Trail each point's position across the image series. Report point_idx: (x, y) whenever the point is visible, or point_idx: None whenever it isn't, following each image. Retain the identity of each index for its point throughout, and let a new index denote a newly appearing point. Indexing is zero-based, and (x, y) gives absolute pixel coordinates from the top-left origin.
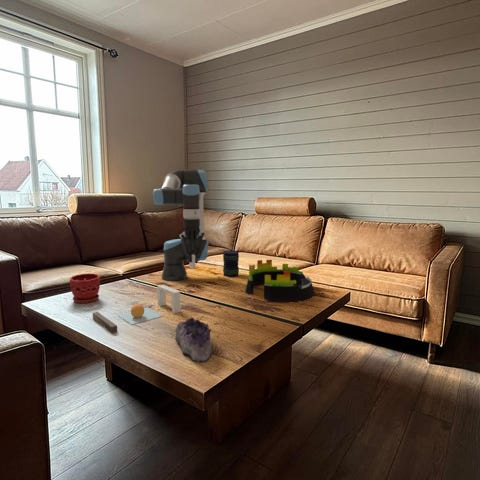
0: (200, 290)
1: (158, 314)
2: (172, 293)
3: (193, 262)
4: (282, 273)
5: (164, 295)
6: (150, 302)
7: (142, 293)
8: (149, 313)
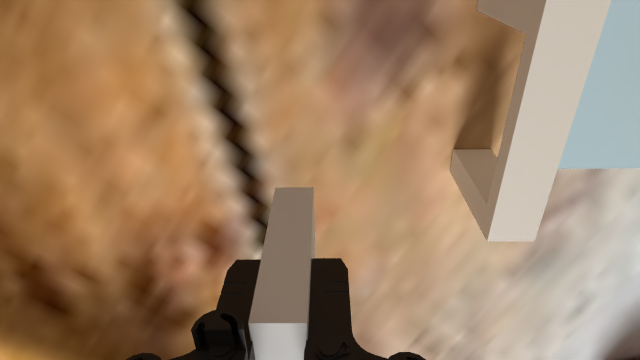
0: (161, 231)
1: (611, 22)
2: (596, 22)
3: (295, 239)
4: None
5: (479, 177)
6: None
7: (420, 342)
8: (624, 76)
